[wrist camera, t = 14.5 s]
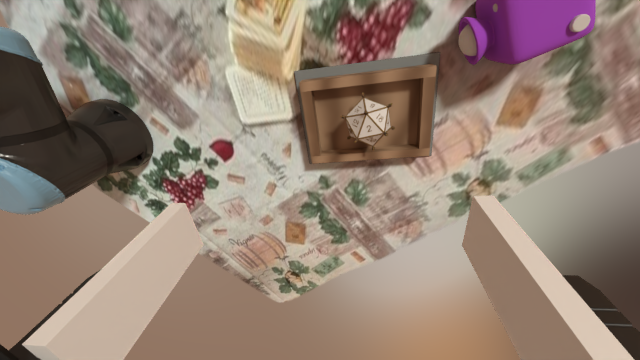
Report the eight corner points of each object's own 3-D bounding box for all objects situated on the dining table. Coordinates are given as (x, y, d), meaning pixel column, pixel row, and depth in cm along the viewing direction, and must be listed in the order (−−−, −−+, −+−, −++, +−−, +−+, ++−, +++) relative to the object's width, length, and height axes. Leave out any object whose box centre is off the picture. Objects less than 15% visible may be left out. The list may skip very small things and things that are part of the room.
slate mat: (310, 163, 54) (309, 163, 53) (294, 71, 45) (294, 71, 45) (430, 154, 50) (431, 155, 49) (439, 52, 41) (440, 52, 41)
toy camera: (437, 21, 39) (461, 18, 30) (538, -53, 34) (600, -82, 25) (466, 81, 43) (494, 94, 34) (560, 24, 37) (622, 21, 29)
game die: (377, 109, 49) (415, 131, 42) (346, 141, 50) (379, 168, 43) (357, 75, 43) (399, 96, 36) (322, 113, 43) (356, 140, 37)
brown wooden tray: (314, 156, 53) (312, 163, 50) (302, 79, 45) (299, 82, 42) (424, 148, 49) (429, 155, 46) (430, 63, 42) (436, 65, 39)
